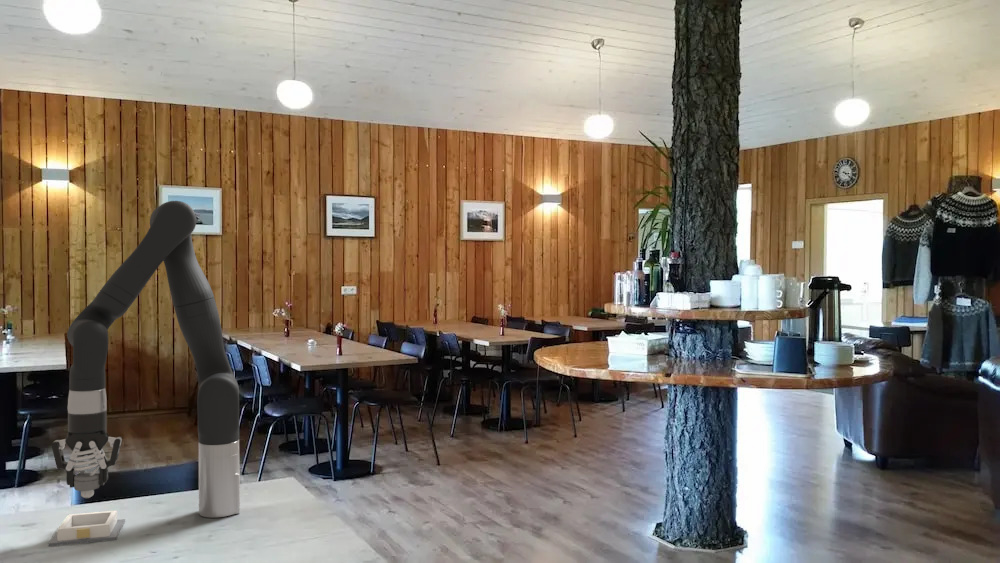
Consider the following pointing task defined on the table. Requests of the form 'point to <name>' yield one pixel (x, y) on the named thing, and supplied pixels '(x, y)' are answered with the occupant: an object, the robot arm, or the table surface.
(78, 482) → the light bulb
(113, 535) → the slate board
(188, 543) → the table surface
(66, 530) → the cream square tray
